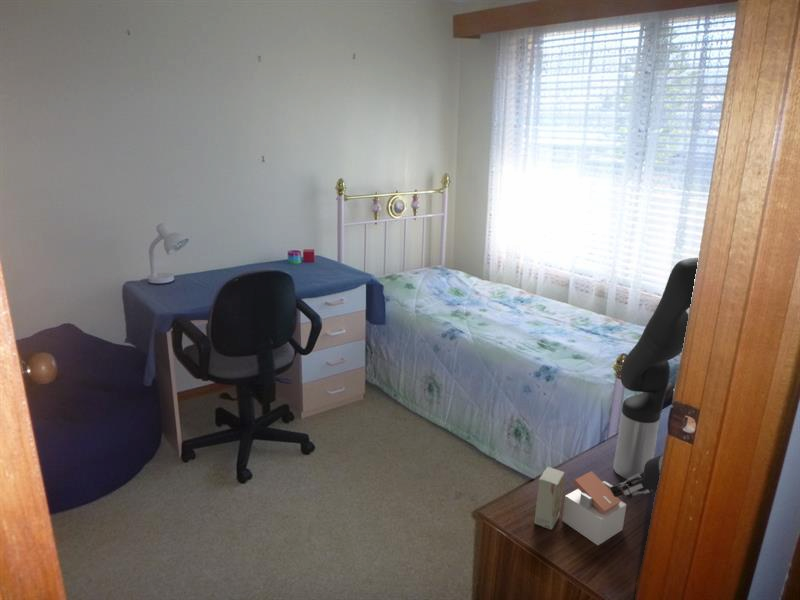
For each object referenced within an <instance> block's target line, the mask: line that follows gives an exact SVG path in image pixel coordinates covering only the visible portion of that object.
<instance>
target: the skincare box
mask: <svg viewBox="0 0 800 600" xmlns="http://www.w3.org/2000/svg"><path fill="white" fill-rule="evenodd" d="M564 480H565V471H562V470H559V469H556V468H554V467H550V466H546V468H545V469H544V471H543V472H542V474H541V475H540V477H539V479H538V486H537V494H536V495H537V497H536V504H535V505H536V506H535V513H534V524H535V525H538V526H541V527H542V528H544V529H545V528H546V529H548V530H553V528H554V527H555V526H556V524H557V522H558V520H559V517H560V512H561V506H562V505H561V504H562V497H563V489H564Z"/></svg>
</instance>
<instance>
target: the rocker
mask: <svg viewBox="0 0 800 600" xmlns="http://www.w3.org/2000/svg"><path fill="white" fill-rule="evenodd" d="M572 483H573V484H574V486H575V487H576V488H577V489H579V490H580V491H581V492H582V493H583V492H584V493H585V494H587V495H588V496H590V497H591V498H592V502H591V503H592V504H593V505H594V506H595V507H596V508H597V509H598V510H599V511H600V512H601V513H602V514H603V513H605V512H607V511H608V510H610V509H612V508H613V507H615V506H617V505H618V504H619V503H620V502H621V499H619V496H618V497H614V495H613V494H612V492H611V490H610V489H609V488H608V487H607V486H606V485H605V484H604V483H603V481H602V480H601V479H600V477H598V476H597V475H596V474H595V473H594V471H592V470H591V471H588V472H587V473H584V475H581V476H579V477H578V478H576V479H574V481H573V482H572Z"/></svg>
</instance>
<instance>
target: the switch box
mask: <svg viewBox="0 0 800 600" xmlns="http://www.w3.org/2000/svg"><path fill="white" fill-rule="evenodd" d="M602 482H603V483H604V484H605V485H606V486H607V487H608V488H609V489H610V488H611V487H613V486H614V485H612V484H611V483H608V482H607V481H605V480H603V481H602ZM563 502H564V504H563V512H562V520H561V521H562V522H563V523H565V524H566V525H568V526H569V527H571V528H572V529H573V530H575V531H577V533H579V534H580V535H582V536H584V537H585V538H587V540H589V541H591V542H592V543H594V544H595V545H596V546H600V545H601V544H603V543H605V542H606V541H608V540H609V539H611V538H612V537H613V536H615V535H616V534H618V533H620V532H621V531H623V528H624V523H625V516H626V515H625V514H626V509H627V504H626V503H625V502H624V501H621V502H620V503H619V504H618V505H617V506H615V507H613V508H612V509H610V510H608V511H607V512H605V513H603V514H602V513H601V512H600V511H599V510H598V509H597V508H596V507H595V506H594V505H593V504H592V503H591V502H592V498H591V497H590V496H588V495H587V494H585V493H584V492H583V493H582V492H581V491H580V490H579V489H578V488H577V489H575V490H573V491H572V492H569V493H568V494H566V495H564V501H563Z"/></svg>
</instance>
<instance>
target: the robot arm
mask: <svg viewBox="0 0 800 600" xmlns="http://www.w3.org/2000/svg"><path fill="white" fill-rule="evenodd" d="M698 258H699V257H692V258H691V257H690V258H686V259H682V260H680V261H677V262H676V264H675V265H674V266H673V267H672V268H671V272H670V274H669V275H668V276H669V277H668V279H667V283H666V285H665V288H664V291H663V293H662V296H661V298H660V300H659V302H658V305H657V307H656V308H655V311H654V312H653V314H652V316H651V317H650V319H649V321H648V322H647V324H646V326H645V328H644V330H643V331H642V334H641V336H640V338H639V340H638V341H637V343H636V344H635V346H633V348H632V349H631V350H630V352H629V353H627V355H626V357H625V358H624V360H623V362H622V365H621V368H620V375H619V376H620V382H621V385H622V386H623V388H624V389H626V390H628V391H631V392H639V394H635V395H633V396H630V397H627V398H626V399H625V400H624V401H623V402H622V407H621V414H620V420H619V428H618V434H617V441H616V447H615V453H614V459H613V465H612V466H613V467H612V468H613V471H614V472H615V473H616V474H617V475H618V476H620V477H621V478H623V479H625V481H623V482H621V483H617V484H614V485H612V486H613V487H611V488H610V490H611V492H612V494H613V495H614V497H618V498H619V497H620V496H622V498H624V499H632V498H633V497H634V496H637V495H640V494H644V495H645V494H648V493H649V494H650V493H651V492H654V493H655V494H657V493H656V490H657V485H658V481H659V475H660V469H661V465H662V459H663V455H664V454H661V455H658V456H655V453H656V447H657V442H658V441H657V437H658V431H659V425H660V421H661V414H662V412H663V408H664V404H665V400H666V399H665V398H666V394H667V391H668V386H669V382H670V375H671V374H670V373H671V370H670V364H669V361H670V360H672V359H674V358H676V357H677V356H679V355H680V354H681V353H682V352H683V351H682V348H683V343H684V337H685V332H686V326H687V321H688V315H689V313H688V312H687V310H689V309H690V308H691V307H690V304H691V297H692V292H693V286H694V279H695V274H696V269H697V262H698Z"/></svg>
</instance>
